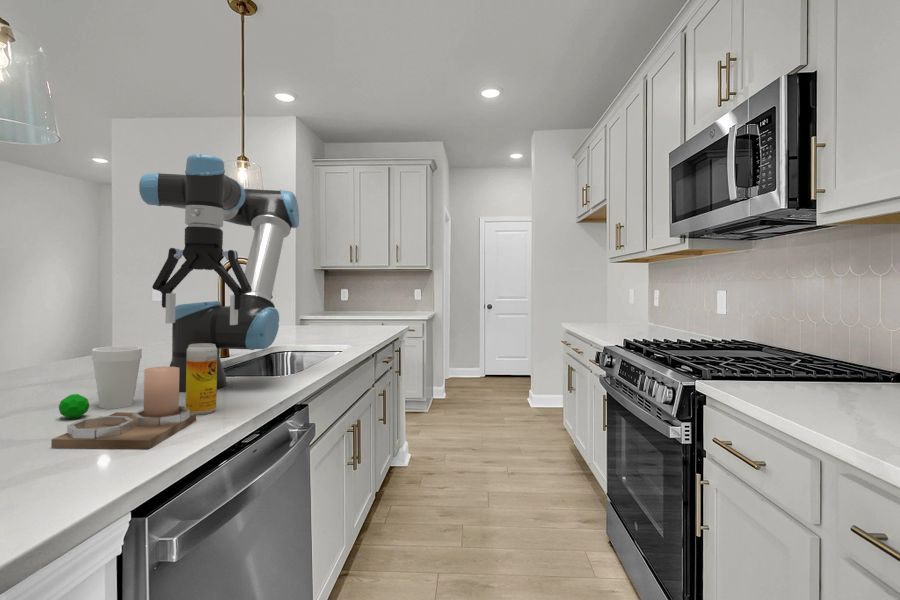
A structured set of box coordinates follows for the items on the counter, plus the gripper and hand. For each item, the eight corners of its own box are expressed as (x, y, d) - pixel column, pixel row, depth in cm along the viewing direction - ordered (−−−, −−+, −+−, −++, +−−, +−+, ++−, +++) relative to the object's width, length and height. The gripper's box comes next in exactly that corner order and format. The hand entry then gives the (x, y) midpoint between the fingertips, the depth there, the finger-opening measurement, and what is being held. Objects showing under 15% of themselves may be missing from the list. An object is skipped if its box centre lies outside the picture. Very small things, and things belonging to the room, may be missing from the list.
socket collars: (117, 412, 102) (117, 405, 102) (195, 413, 103) (195, 406, 103) (55, 438, 84) (55, 429, 84) (150, 439, 85) (150, 431, 85)
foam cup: (142, 399, 120) (143, 345, 120) (138, 408, 112) (139, 350, 111) (95, 402, 116) (95, 346, 115) (87, 411, 107) (87, 352, 107)
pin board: (116, 419, 102) (116, 412, 102) (196, 420, 103) (196, 413, 103) (51, 448, 84) (51, 439, 84) (148, 449, 85) (149, 440, 85)
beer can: (203, 416, 106) (205, 346, 106) (179, 414, 108) (180, 345, 107) (222, 409, 112) (223, 343, 112) (198, 407, 113) (199, 342, 113)
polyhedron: (82, 420, 101) (82, 397, 101) (53, 421, 99) (54, 398, 99) (93, 414, 106) (93, 392, 105) (66, 415, 104) (66, 392, 104)
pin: (153, 415, 101) (154, 366, 100) (184, 415, 101) (185, 366, 101) (137, 423, 95) (137, 371, 94) (169, 423, 95) (170, 371, 95)
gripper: (135, 222, 104) (133, 323, 105) (256, 227, 106) (254, 326, 106) (154, 227, 112) (152, 321, 112) (267, 231, 113) (265, 324, 114)
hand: (202, 324), depth 109 cm, fingers open, 13 cm apart
